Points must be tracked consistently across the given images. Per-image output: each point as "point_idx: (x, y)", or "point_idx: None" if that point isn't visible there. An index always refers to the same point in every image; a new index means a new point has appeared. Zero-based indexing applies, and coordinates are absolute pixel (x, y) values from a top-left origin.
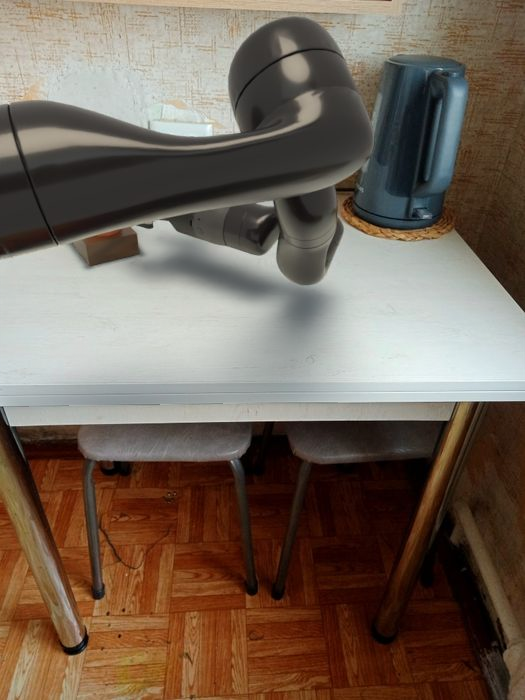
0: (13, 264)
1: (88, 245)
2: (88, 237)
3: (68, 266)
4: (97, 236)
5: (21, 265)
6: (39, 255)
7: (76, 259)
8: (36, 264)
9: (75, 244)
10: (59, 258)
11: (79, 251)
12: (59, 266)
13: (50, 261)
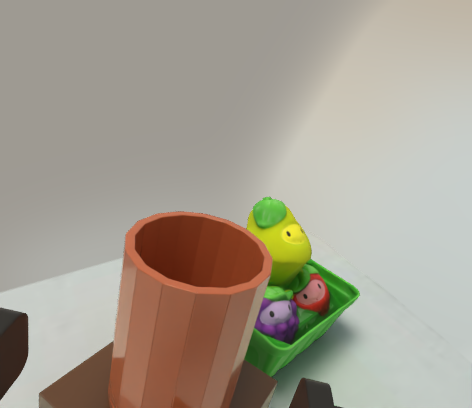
0: (33, 293)
1: (43, 401)
2: (95, 378)
3: (33, 391)
4: (108, 398)
5: (29, 305)
6: (82, 315)
7: None
8: (37, 326)
9: None
10: (75, 354)
11: None
12: (31, 371)
13: (56, 344)
